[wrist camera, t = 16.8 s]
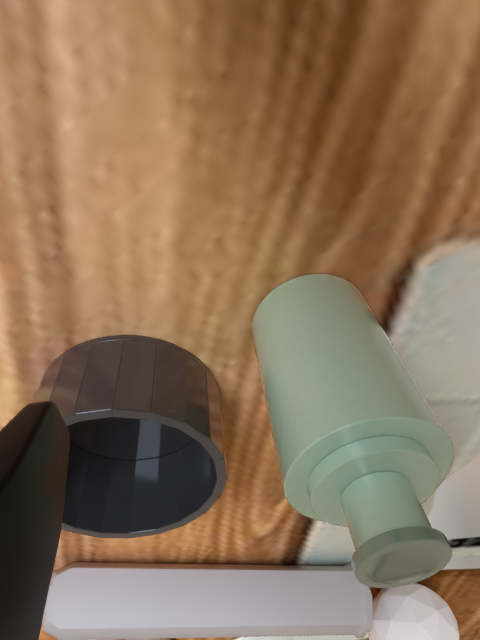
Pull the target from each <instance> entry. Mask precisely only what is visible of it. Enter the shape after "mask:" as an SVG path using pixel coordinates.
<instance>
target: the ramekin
mask: <svg viewBox="0 0 480 640" xmlns="http://www.w3.org/2000/svg"><path fill="white" fill-rule="evenodd" d="M126 640H170V639H166V638H154V639H126Z"/></svg>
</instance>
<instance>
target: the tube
mask: <svg viewBox="0 0 480 640" xmlns="http://www.w3.org/2000/svg"><path fill="white" fill-rule="evenodd" d="M42 626H43V631H45V632H47V633H49V634H50V635H52V636H54V637H55V638H57V639H59V640H102V639H154V638H207V637H259V636H306V635H307V636H309V635H354V636H355V637H357V638H363V637H364V636H365V635H366V634H367V633H368V632H369V631H370V630H371V629H372V628H373V601H372V594H371V590H370V587H369V586H366V585H363V584H362V583H360V582H359V581H358V580H357V579H356V577H355V574H354V571H353V568H352V564H351V563H347V564H346V565H345V566H303V565H237V564H171V563H105V562H73V563H71V564H69V565H67V566H64V567H62V568H60V569H58V570H55V571H54V573H53V576H52V578H51V581H50V586H49V591H48V596H47V601H46V605H45V610H44V615H43V620H42Z"/></svg>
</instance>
